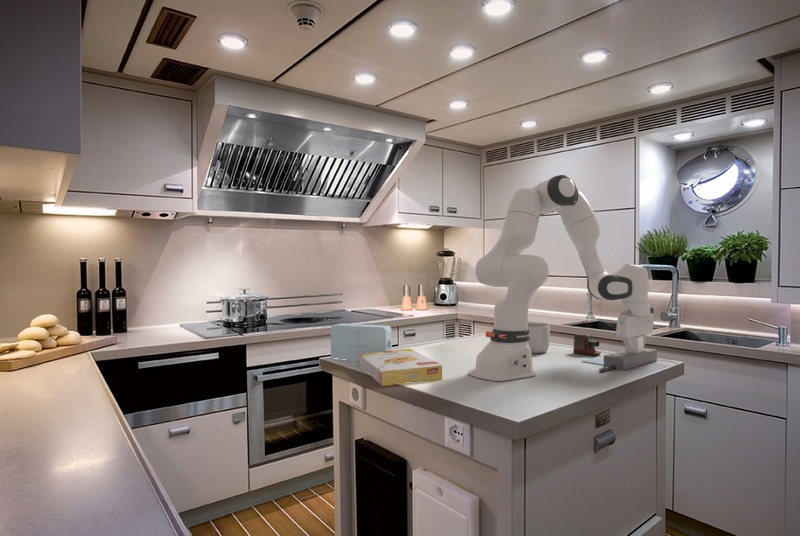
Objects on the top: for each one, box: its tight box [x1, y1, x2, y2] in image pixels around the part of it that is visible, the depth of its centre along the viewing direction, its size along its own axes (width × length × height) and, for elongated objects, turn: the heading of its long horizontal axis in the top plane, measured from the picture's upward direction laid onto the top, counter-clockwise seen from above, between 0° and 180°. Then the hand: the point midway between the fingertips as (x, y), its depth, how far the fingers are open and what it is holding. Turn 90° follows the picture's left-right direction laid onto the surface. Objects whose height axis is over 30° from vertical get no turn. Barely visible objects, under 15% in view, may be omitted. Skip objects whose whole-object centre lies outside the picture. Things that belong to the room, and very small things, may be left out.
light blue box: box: [330, 322, 393, 362], centre depth 182 cm, size 23×6×13 cm, turn 67°
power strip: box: [598, 347, 658, 373], centre depth 169 cm, size 33×7×4 cm, turn 128°
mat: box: [581, 357, 604, 366], centre depth 175 cm, size 8×8×1 cm
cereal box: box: [358, 348, 443, 387], centre depth 161 cm, size 20×6×28 cm
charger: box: [627, 336, 644, 353], centre depth 173 cm, size 4×4×7 cm
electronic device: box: [572, 334, 602, 357], centre depth 189 cm, size 4×10×8 cm, turn 44°
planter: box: [528, 322, 551, 354], centre depth 195 cm, size 12×12×11 cm
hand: (635, 348), depth 173 cm, fingers open, 8 cm apart
